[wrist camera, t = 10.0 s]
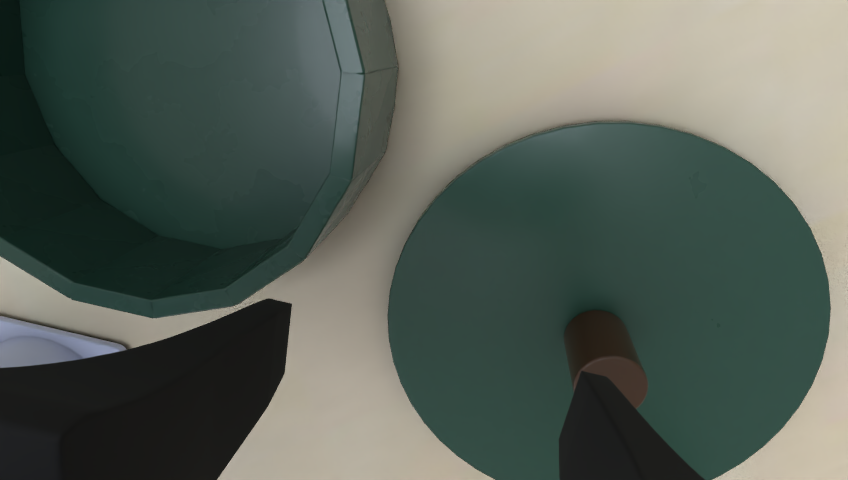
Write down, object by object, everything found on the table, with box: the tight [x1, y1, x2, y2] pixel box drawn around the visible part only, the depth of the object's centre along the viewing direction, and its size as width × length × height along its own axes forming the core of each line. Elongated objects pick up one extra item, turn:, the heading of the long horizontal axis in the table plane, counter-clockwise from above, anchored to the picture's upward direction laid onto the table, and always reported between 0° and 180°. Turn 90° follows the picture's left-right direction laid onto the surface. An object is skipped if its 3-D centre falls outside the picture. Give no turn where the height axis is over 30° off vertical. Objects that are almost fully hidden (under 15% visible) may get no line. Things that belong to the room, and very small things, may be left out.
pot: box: [0, 0, 398, 318], centre depth 19 cm, size 15×15×5 cm
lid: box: [388, 121, 831, 480], centre depth 20 cm, size 16×16×4 cm
